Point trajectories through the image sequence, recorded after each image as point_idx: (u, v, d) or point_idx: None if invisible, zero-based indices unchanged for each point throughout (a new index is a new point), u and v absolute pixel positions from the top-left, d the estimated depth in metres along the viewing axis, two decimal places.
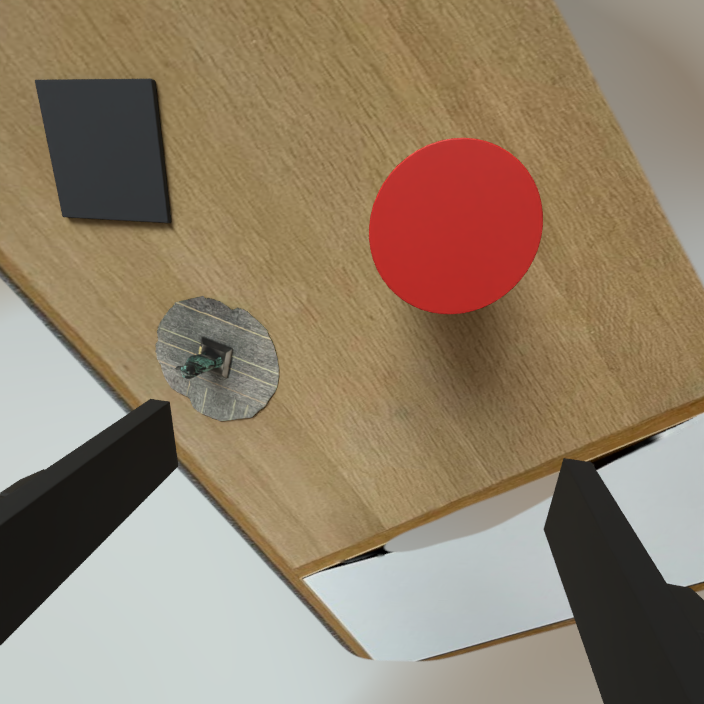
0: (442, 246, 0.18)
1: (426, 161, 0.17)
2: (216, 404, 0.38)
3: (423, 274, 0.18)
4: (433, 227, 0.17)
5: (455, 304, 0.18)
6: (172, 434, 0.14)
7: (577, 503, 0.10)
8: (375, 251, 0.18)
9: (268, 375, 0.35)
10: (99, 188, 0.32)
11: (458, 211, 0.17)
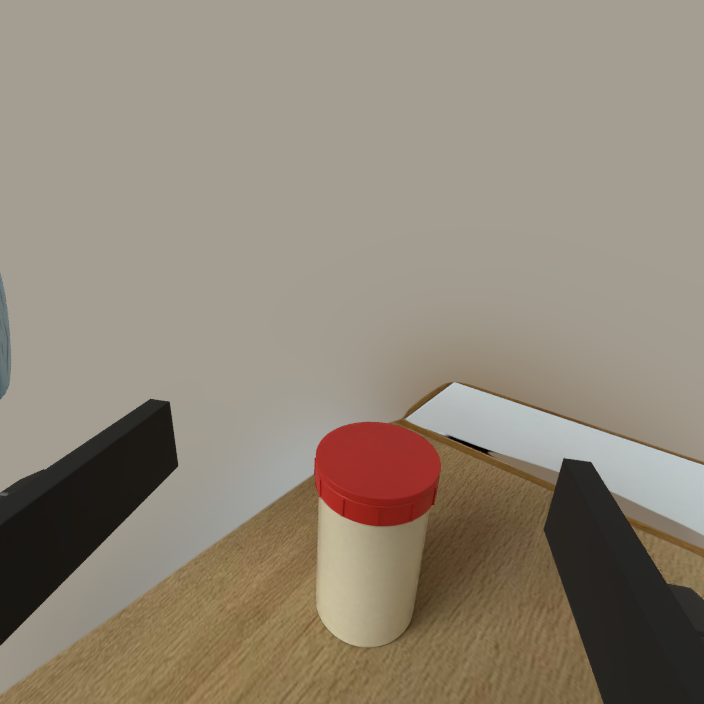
0: (389, 457, 0.23)
1: (336, 474, 0.22)
2: None
3: (414, 462, 0.23)
4: (379, 463, 0.23)
5: (424, 444, 0.25)
6: (172, 434, 0.14)
7: (577, 503, 0.10)
8: (414, 491, 0.21)
9: None
10: None
11: (363, 454, 0.23)
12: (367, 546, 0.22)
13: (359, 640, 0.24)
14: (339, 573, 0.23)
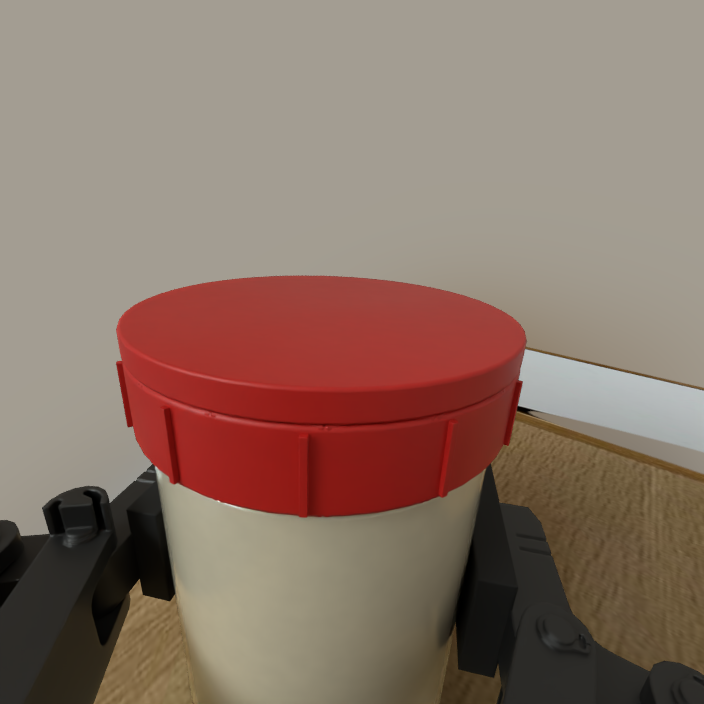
0: (362, 311, 0.08)
1: (163, 333, 0.06)
2: None
3: (438, 319, 0.07)
4: (327, 319, 0.07)
5: (458, 299, 0.09)
6: None
7: None
8: (453, 370, 0.05)
9: None
10: None
11: (283, 306, 0.08)
12: (282, 595, 0.06)
13: None
14: (211, 672, 0.07)
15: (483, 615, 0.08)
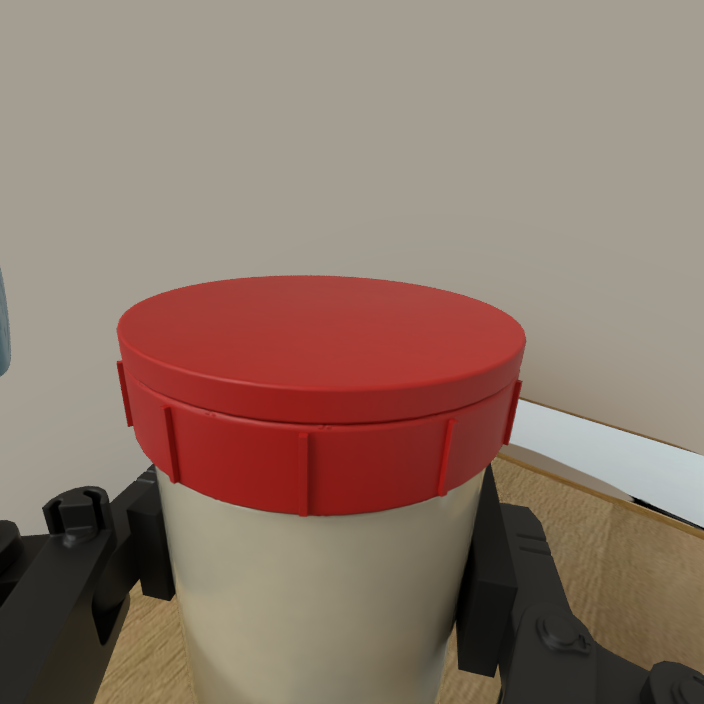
0: (362, 310, 0.08)
1: (163, 333, 0.06)
2: None
3: (438, 319, 0.07)
4: (327, 318, 0.07)
5: (458, 299, 0.09)
6: None
7: None
8: (452, 369, 0.05)
9: None
10: None
11: (283, 306, 0.08)
12: (282, 594, 0.06)
13: None
14: (211, 671, 0.07)
15: (483, 615, 0.08)
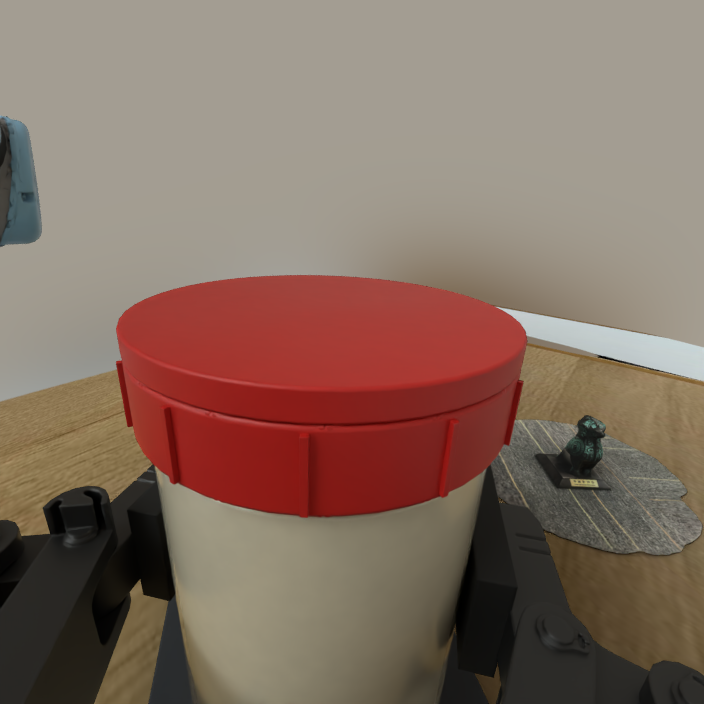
0: (363, 310, 0.08)
1: (162, 332, 0.06)
2: (637, 465, 0.24)
3: (439, 318, 0.07)
4: (328, 318, 0.07)
5: (458, 298, 0.09)
6: None
7: None
8: (454, 370, 0.05)
9: (530, 425, 0.28)
10: None
11: (283, 305, 0.08)
12: (282, 595, 0.06)
13: None
14: (211, 672, 0.07)
15: (483, 615, 0.08)
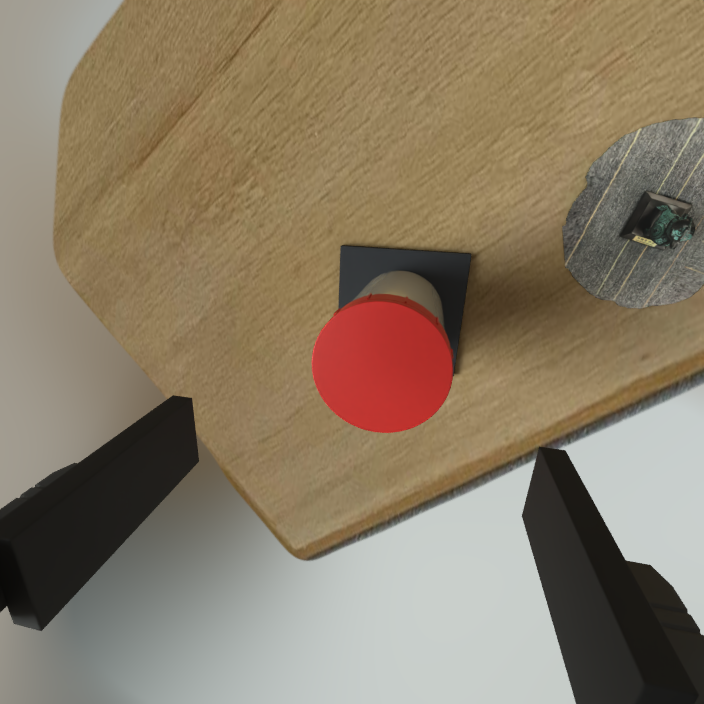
0: (391, 378, 0.21)
1: (326, 388, 0.21)
2: None
3: (414, 393, 0.21)
4: (375, 385, 0.21)
5: (443, 368, 0.20)
6: (194, 430, 0.14)
7: (550, 488, 0.11)
8: (393, 429, 0.22)
9: (701, 135, 0.24)
10: None
11: (363, 366, 0.21)
12: None
13: None
14: None
15: None
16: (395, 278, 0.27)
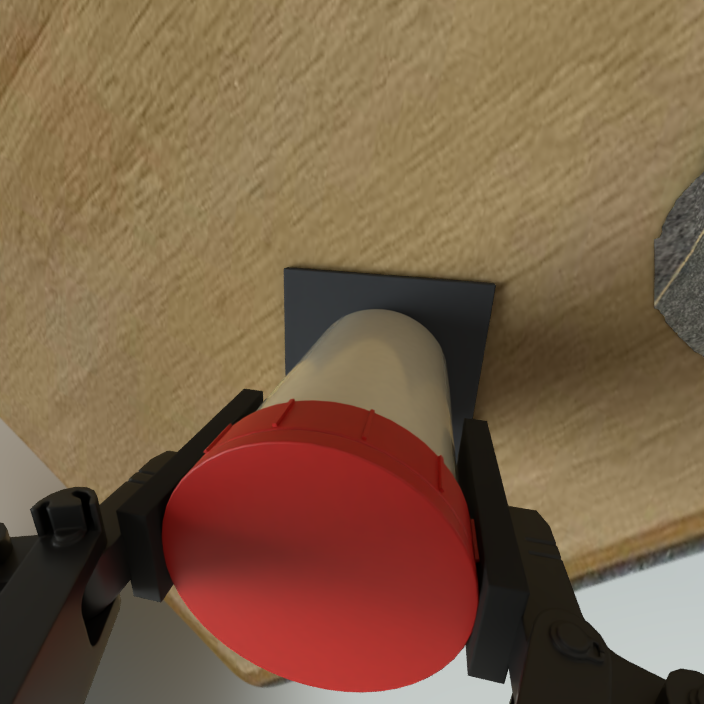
0: (334, 599, 0.09)
1: (200, 601, 0.10)
2: None
3: (388, 633, 0.09)
4: (301, 607, 0.09)
5: (455, 595, 0.08)
6: None
7: (465, 451, 0.12)
8: (346, 687, 0.10)
9: None
10: None
11: (271, 570, 0.09)
12: None
13: None
14: None
15: (494, 621, 0.08)
16: (366, 331, 0.15)
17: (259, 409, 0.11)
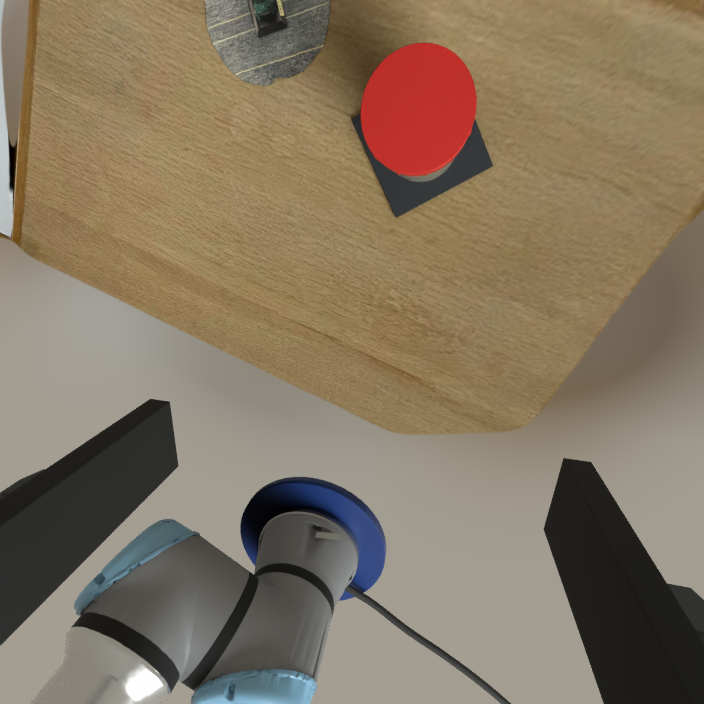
0: (425, 117, 0.26)
1: (372, 135, 0.26)
2: None
3: (444, 130, 0.26)
4: (412, 126, 0.26)
5: (468, 102, 0.25)
6: (172, 434, 0.14)
7: (577, 503, 0.10)
8: (426, 169, 0.27)
9: (218, 34, 0.38)
10: None
11: (403, 109, 0.26)
12: None
13: None
14: None
15: None
16: None
17: None
